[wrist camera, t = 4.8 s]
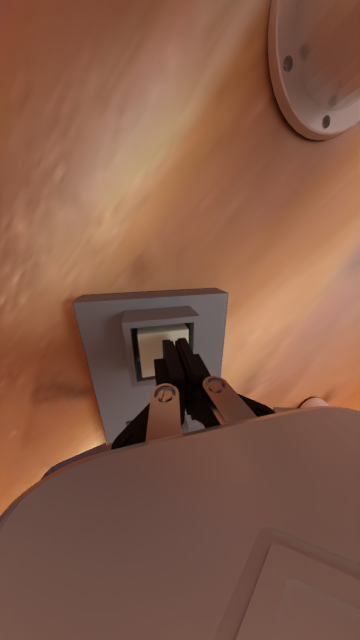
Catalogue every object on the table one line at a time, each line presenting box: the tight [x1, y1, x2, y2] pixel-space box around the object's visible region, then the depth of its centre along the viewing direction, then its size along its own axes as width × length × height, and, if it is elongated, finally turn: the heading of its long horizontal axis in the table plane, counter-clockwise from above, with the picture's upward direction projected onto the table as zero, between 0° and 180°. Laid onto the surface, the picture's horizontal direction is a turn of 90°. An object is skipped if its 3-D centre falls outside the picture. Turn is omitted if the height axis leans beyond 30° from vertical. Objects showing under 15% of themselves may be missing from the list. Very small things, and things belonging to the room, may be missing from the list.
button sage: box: [137, 323, 189, 378], centre depth 15 cm, size 4×4×3 cm
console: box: [73, 288, 228, 444], centre depth 21 cm, size 30×14×6 cm, turn 1°
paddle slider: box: [182, 409, 201, 433], centre depth 19 cm, size 4×3×4 cm
